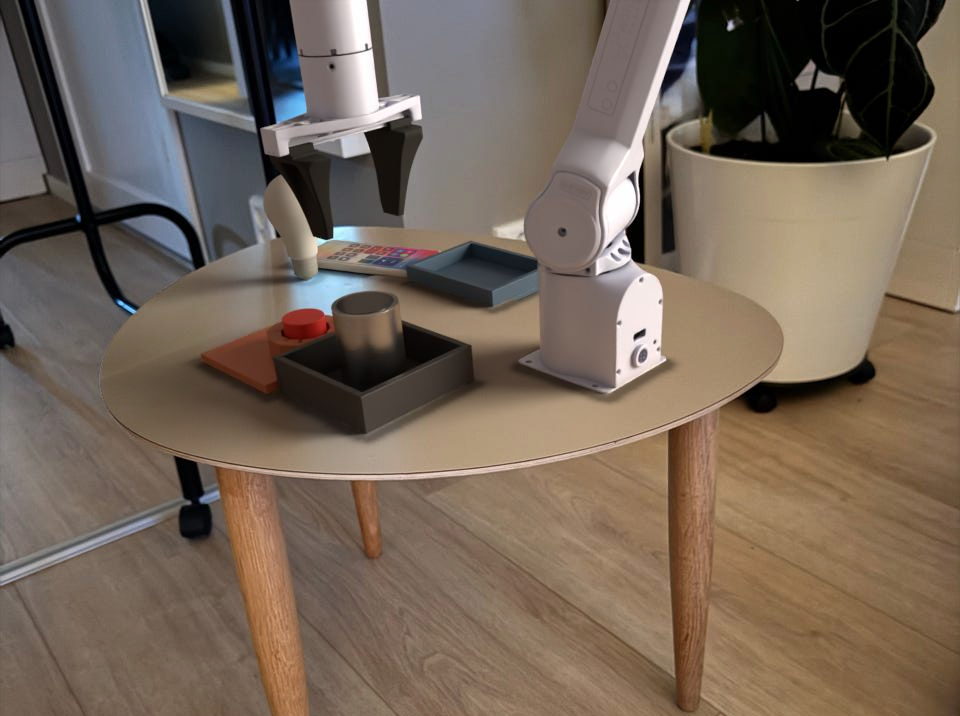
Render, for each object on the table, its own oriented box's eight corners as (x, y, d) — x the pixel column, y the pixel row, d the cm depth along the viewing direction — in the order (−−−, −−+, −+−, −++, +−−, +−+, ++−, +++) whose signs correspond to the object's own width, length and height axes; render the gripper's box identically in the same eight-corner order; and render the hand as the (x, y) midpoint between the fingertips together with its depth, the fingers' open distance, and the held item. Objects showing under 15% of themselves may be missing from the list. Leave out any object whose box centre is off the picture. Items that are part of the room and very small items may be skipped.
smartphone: (330, 238, 107) (446, 250, 101) (331, 246, 108) (447, 258, 102) (291, 258, 102) (412, 272, 96) (293, 267, 102) (412, 281, 96)
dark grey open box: (475, 384, 76) (471, 344, 74) (366, 439, 69) (360, 397, 68) (385, 349, 83) (380, 312, 81) (279, 396, 76) (271, 356, 75)
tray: (557, 282, 94) (557, 263, 93) (493, 311, 88) (491, 291, 87) (471, 258, 101) (470, 240, 100) (407, 284, 96) (405, 265, 95)
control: (363, 358, 82) (358, 325, 80) (269, 399, 76) (262, 366, 74) (294, 329, 88) (289, 299, 86) (203, 365, 82) (195, 334, 81)
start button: (335, 331, 80) (332, 314, 79) (301, 345, 78) (298, 328, 77) (310, 321, 82) (307, 304, 82) (276, 335, 80) (273, 318, 80)
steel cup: (421, 382, 76) (412, 299, 72) (371, 406, 73) (359, 321, 69) (380, 365, 79) (369, 284, 75) (330, 387, 76) (317, 305, 72)
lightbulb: (332, 288, 96) (314, 179, 91) (272, 291, 97) (251, 183, 91) (340, 267, 102) (324, 163, 96) (284, 271, 102) (264, 167, 96)
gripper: (375, 34, 79) (394, 196, 87) (226, 63, 71) (261, 239, 78) (431, 38, 75) (446, 209, 82) (279, 69, 67) (310, 255, 74)
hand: (359, 225), depth 80 cm, fingers open, 7 cm apart
